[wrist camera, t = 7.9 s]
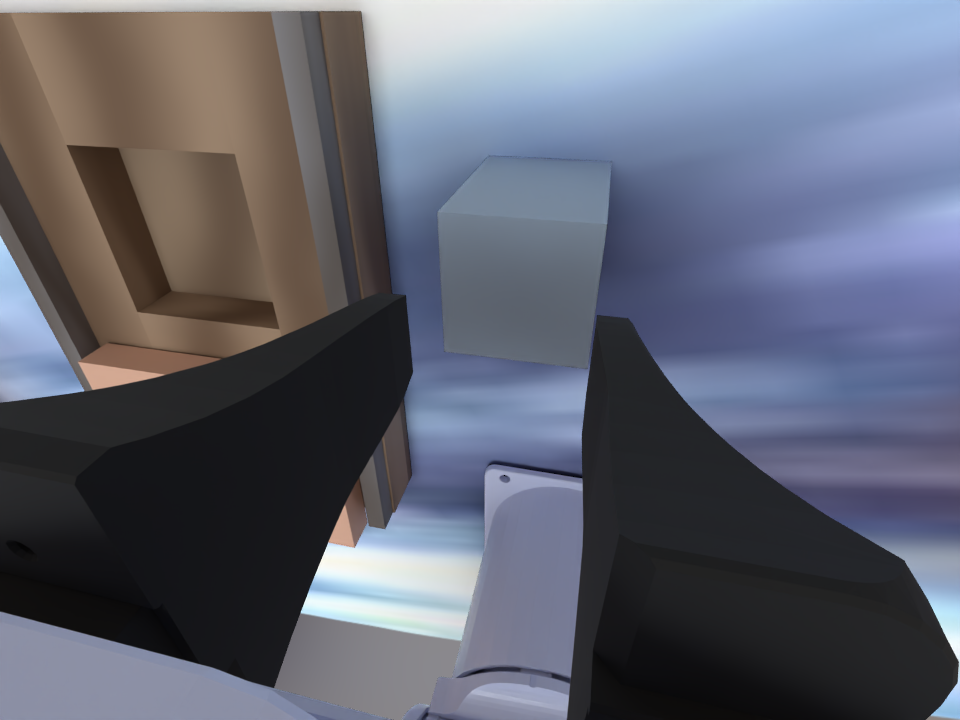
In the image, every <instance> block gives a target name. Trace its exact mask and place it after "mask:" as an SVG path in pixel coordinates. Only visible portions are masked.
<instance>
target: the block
mask: <svg viewBox="0 0 960 720" xmlns="http://www.w3.org/2000/svg"><path fill="white" fill-rule="evenodd" d="M611 163H612V161H593V160H572V159H551V158H530V157H509V156H488V157H487V158H486V159H485V160H484V162H483V163H482V164H481V165H480V166H479V167H478V168H477V169H476V170H475V171H474V172H473V174H472V175H471V176H470V177H469V178H468V179H467V180H466V181H465V182H464V183H463V184H462V186H461V187H460V188H459V189H458V190H457V191H456V192H455V193H454V194H453V195H452V196H451V198H450V199H449V200H448V201H447V202H446V203H445V204H444V205H443V206H442V207H441V209H440V210H439V211H438V212H437V218H438V238H439V257H440V277H441V296H442V316H443V335H444V352H451V353H459V354H467V355H475V356H484V357H492V358H500V359H508V360H516V361H524V362H533V363H541V364H549V365H557V366H565V367H573V368H582V369H588V361H589V354H590V347H591V339H592V332H593V325H594V318H595V310H596V303H597V296H598V288H599V281H600V274H601V266H602V259H603V252H604V245H605V237H606V230H607V221H608V207H609V192H610V178H611Z"/></svg>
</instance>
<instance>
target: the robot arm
mask: <svg viewBox="0 0 960 720" xmlns="http://www.w3.org/2000/svg"><path fill="white" fill-rule="evenodd" d="M412 374H413V367H412V357H411V346H410V335H409V325H408V314H407V303H406V295H397V294H387V293H377V294H374V295H371V296H369V297H366V298H364V299H362V300H359V301H357V302H355V303H353V304H351V305H349V306H346V307H344V308H342V309H340V310H338V311H336V312H334V313H332V314H330V315H328V316H326V317H323V318H321V319H319V320H317V321H315V322H313V323H311V324H309V325H307V326H304V327H302V328H300V329H297V330H295V331H293V332H290V333H288V334H286V335H283V336H281V337H279V338H277V339H274V340H272V341H270V342H267V343H265V344H262V345H260V346H257V347H255V348H252V349H249V350H247V351H244V352H241V353H238V354H235V355H232V356H229V357H226V358H223V359H220V360H217V361H214V362H211V363H207V364H204V365H200V366H197V367H193V368H189V369H185V370H181V371H178V372H174V373H170V374H166V375H163V376H159V377H155V378H151V379H146V380H142V381H137V382H132V383H127V384H123V385H118V386H112V387H107V388H101V389H96V390H90V391H84V392H78V393H72V394H65V395H57V396H50V397H42V398H34V399H27V400H19V401H12V402H3V403H0V720H392V719H388V718H384V717H380V716H377V715H373V714H369V713H365V712H362V711H358V710H354V709H350V708H346V707H343V706H339V705H335V704H331V703H327V702H324V701H320V700H316V699H312V698H309V697H305V696H301V695H298V694H294V693H290V692H286V691H283V690H278V689H275V688H274V686H275V683H276V680H277V677H278V674H279V671H280V668H281V666H282V663H283V660H284V657H285V654H286V651H287V648H288V645H289V642H290V639H291V636H292V634H293V631H294V629H295V626H296V623H297V621H298V618H299V615H300V613H301V610H302V607H303V605H304V602H305V599H306V597H307V594H308V591H309V589H310V586H311V583H312V581H313V579H314V576H315V574H316V571H317V569H318V566H319V564H320V561H321V559H322V556H323V554H324V552H325V549H326V547H327V544H328V542H329V540H330V537H331V535H332V533H333V530H334V528H335V526H336V524H337V521H338V519H339V517H340V514H341V512H342V510H343V508H344V505H345V503H346V501H347V499H348V497H349V495H350V493H351V492H352V490H353V488H354V486H355V484H356V482H357V480H358V479H359V477H360V475H361V474H362V472H363V470H364V468H365V467H366V465H367V463H368V462H369V460H370V458H371V456H372V455H373V453H374V451H375V450H376V448H377V446H378V444H379V443H380V441H381V439H382V438H383V436H384V434H385V432H386V431H387V429H388V427H389V425H390V424H391V422H392V420H393V418H394V416H395V415H396V413H397V411H398V409H399V407H400V405H401V402H402V400H403V397H404V395H405V392H406V390H407V387H408V384H409V382H410V379H411V376H412ZM503 475H506V476H508V477H505V476H503ZM958 666H959V661H958V659H957V658H956V656H955V654H954V652H953V650H952V648H951V646H950V644H949V642H948V640H947V638H946V636H945V634H944V632H943V630H942V628H941V626H940V623H939V621H938V619H937V617H936V615H935V613H934V611H933V609H932V607H931V605H930V603H929V601H928V599H927V598H926V596H925V594H924V593H923V591H922V589H921V588H920V586H919V584H918V583H917V581H916V579H915V578H914V576H913V574H912V573H911V571H910V569H909V568H908V566H907V565H906V563H905V561H904V560H903V559H901V558H899V557H898V556H896V555H894V554H892V553H891V552H889V551H887V550H885V549H884V548H882V547H880V546H879V545H877V544H875V543H873V542H872V541H870V540H868V539H866V538H865V537H863V536H861V535H860V534H858V533H856V532H854V531H853V530H851V529H849V528H848V527H846V526H844V525H842V524H841V523H839V522H837V521H835V520H834V519H832V518H830V517H829V516H827V515H825V514H824V513H822V512H821V511H819V510H818V509H816V508H815V507H813V506H812V505H810V504H809V503H807V502H806V501H804V500H803V499H801V498H800V497H798V496H797V495H795V494H794V493H792V492H791V491H789V490H788V489H786V488H785V487H783V486H782V485H781V484H779V483H778V482H777V481H775V480H774V479H772V478H771V477H770V476H768V475H767V474H766V473H764V472H763V471H762V470H760V469H759V468H758V467H756V466H755V465H754V464H753V463H751V462H750V461H749V460H748V459H746V458H745V457H744V456H743V455H742V454H740V453H739V452H738V451H737V450H735V449H734V448H733V447H732V446H731V445H729V444H728V443H727V442H726V441H725V440H724V439H723V438H721V437H720V436H719V435H718V434H717V433H716V432H715V431H714V430H713V429H712V428H711V427H710V426H709V425H708V424H707V423H706V422H705V421H704V420H703V419H702V418H701V417H700V416H699V415H698V414H696V412H695V411H694V410H693V409H692V408H691V407H690V406H689V405H688V404H687V403H686V402H685V400H684V399H683V398H682V397H681V396H680V394H679V393H678V392H677V391H676V390H675V388H674V387H673V386H672V384H671V383H670V382H669V380H668V379H667V378H666V376H665V375H664V374H663V372H662V371H661V369H660V368H659V366H658V365H657V364H656V362H655V361H654V359H653V358H652V356H651V355H650V353H649V352H648V350H647V348H646V347H645V345H644V343H643V342H642V340H641V338H640V337H639V335H638V333H637V331H636V329H635V327H634V326H633V324H632V323H631V321H630V320H629V319H628V318H620V317H610V316H600V315H597V321H596V328H595V336H594V343H593V350H592V357H591V364H590V371H589V378H588V385H587V392H586V401H585V410H584V420H583V429H582V478H576V477H570V476H563V475H557V474H551V473H545V472H539V471H533V470H526V469H520V468H514V467H508V466H502V465H489V466H488V467H487V469H486V472H485V551H484V555H483V558H482V562H481V566H480V570H479V574H478V578H477V582H476V586H475V590H474V594H473V598H472V602H471V606H470V609H469V613H468V617H467V621H466V625H465V629H464V633H463V637H462V641H461V645H460V649H459V653H458V657H457V661H456V665H455V669H454V672H453V677H452V678H446V677H439V678H438V679H437V683H436V687H435V690H434V693H433V697H432V701H431V704H430V705H426V704H417V705H414V706H413V707H412V708H411V709H410V710H408V711H407V713H406V714H405V715H404V716H403V718H402V719H401V720H926V719H927V718H928V717H929V716H930V715H931V714H932V713H934V712H935V711H936V710H937V709H938V708H939V707H940V706H941V705H942V703H943V702H944V701H945V699H946V698H947V697H948V695H949V694H950V692H951V691H952V689H953V688H954V687H955V685H956V684H957V682H958Z"/></svg>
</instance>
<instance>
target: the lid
mask: <svg viewBox="0 0 960 720" xmlns="http://www.w3.org/2000/svg"><path fill="white" fill-rule="evenodd" d="M217 360H220V358H212V357H205V356H198V355H190V354H183V353H176V352H169V351H161V350H154V349H147V348H139V347H132V346H125V345H117V344H110V343H106V344H105V345H103V346H102V347H100V348H99V349H97V350H95V351H94V352H92V353H91V354H89V355H88V356H86V357H85V358H83V359H82V360H80V361H78V363H79V365H80V367H81V369H82V371H83V372H84V374H85V376H86V378H87V380H88V382H89V384H90V386H91V388H92V389H93V390H96V389H101V388H107V387H112V386H118V385H123V384H127V383H132V382H137V381H142V380H146V379H151V378H155V377H159V376H163V375H166V374H170V373H174V372H178V371H181V370H185V369H189V368H193V367H197V366H200V365H204V364H207V363H211V362H214V361H217ZM366 524H367V518H366V512H365V507H364V502H363V497H362V492H361V486H360V481H359V479H358V480H357V482H356V484H355V486H354V488H353V490H352V492H351V493H350V495H349V497H348V499H347V501H346V503H345V505H344V508H343V510H342V512H341V514H340V517H339V519H338V521H337V524H336V526H335V528H334V530H333V533H332V535H331V537H330V540H329V543H334V544H339V545H344V546H349V547H354V548H355V546H356V544H357V542H358V540H359V538H360V536H361V534H362V532H363V530H364V528H365V526H366Z"/></svg>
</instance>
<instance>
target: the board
mask: <svg viewBox="0 0 960 720" xmlns="http://www.w3.org/2000/svg"><path fill="white" fill-rule="evenodd" d="M0 236H1V237H2V239H3V241H4V243H5V245H6V247H7V249H8V250H9V252H10V254H11V256H12V258H13V260H14V261H15V263H16V265H17V267H18V269H19V271H20V272H21V274H22V276H23V278H24V280H25V282H26V284H27V285H28V287H29V289H30V291H31V293H32V295H33V296H34V298H35V300H36V302H37V304H38V306H39V308H40V309H41V311H42V313H43V315H44V317H45V319H46V320H47V322H48V324H49V326H50V328H51V330H52V331H53V333H54V335H55V337H56V339H57V341H58V343H59V344H60V346H61V348H62V350H63V352H64V354H65V355H66V357H67V359H68V361H69V363H70V365H71V366H72V368H73V370H74V372H75V374H76V376H77V378H78V379H79V381H80V383H81V385H82V387H83V389H84V390H85V391H90V390H93V389H92V388H91V386H90V384H89V382H88V380H87V378H86V376H85V374H84V372H83V371H82V369H81V367H80V365H79V363H78V361H80V360H82V359H83V358H85V357H86V356H88V355H89V354H91V353H92V352H94V351H95V350H97V349H99V348H100V347H102V346H103V345H105V344H106V343H110V344H117V345H125V346H132V347H139V348H147V349H154V350H161V351H169V352H176V353H183V354H190V355H198V356H205V357H212V358H220V359H223V358H226V357H229V356H232V355H235V354H238V353H241V352H244V351H247V350H249V349H252V348H255V347H257V346H260V345H262V344H265V343H267V342H270V341H272V340H274V339H277V338H279V337H281V336H283V335H286V334H288V333H290V332H293V331H295V330H297V329H300V328H302V327H304V326H307V325H309V324H311V323H313V322H315V321H317V320H319V319H321V318H323V317H326V316H328V315H330V314H332V313H334V312H336V311H338V310H340V309H342V308H344V307H346V306H349V305H351V304H353V303H355V302H357V301H359V300H362V299H364V298H366V297H369V296H371V295H374V294H377V293H387V294H392V291H391V282H390V272H389V263H388V254H387V245H386V236H385V227H384V218H383V209H382V200H381V191H380V182H379V173H378V163H377V154H376V145H375V136H374V127H373V118H372V109H371V100H370V91H369V82H368V73H367V64H366V55H365V45H364V36H363V27H362V18H361V11H293V12H103V13H0ZM411 476H412V472H411V463H410V454H409V445H408V436H407V427H406V418H405V409H404V400H402V402H401V405H400V407H399V409H398V411H397V413H396V415H395V416H394V418H393V420H392V422H391V424H390V425H389V427H388V429H387V431H386V432H385V434H384V436H383V438H382V439H381V441H380V443H379V444H378V446H377V448H376V450H375V451H374V453H373V455H372V456H371V458H370V460H369V462H368V463H367V465H366V467H365V468H364V470H363V472H362V474H361V475H360V477H359V481H360V486H361V492H362V497H363V502H364V507H365V508H366V513H367V518H368V523H369V526H371V527H376V528H382V529H385V528H386V526H387V524H388V522H389V520H390V517H391V515H392V513H393V512H394V513H395V511H396V509H397V507H398V504H399V502H400V500H401V498H402V496H403V493H404V491H405V489H406V487H407V485H408V482H409V480H410V478H411Z"/></svg>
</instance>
